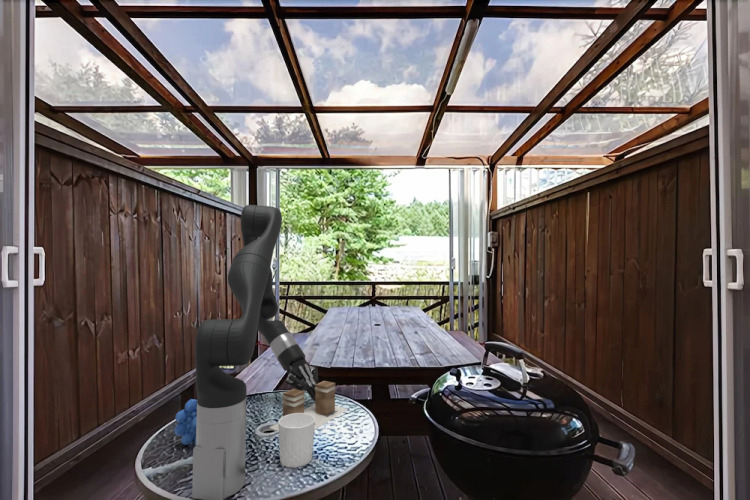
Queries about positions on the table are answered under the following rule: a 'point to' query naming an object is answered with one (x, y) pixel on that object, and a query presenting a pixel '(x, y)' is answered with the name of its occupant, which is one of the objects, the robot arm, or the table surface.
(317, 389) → the one band post
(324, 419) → the white rectangular board
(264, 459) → the table surface
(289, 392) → the two band post
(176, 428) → the grapes
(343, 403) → the table surface
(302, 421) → the white cup
